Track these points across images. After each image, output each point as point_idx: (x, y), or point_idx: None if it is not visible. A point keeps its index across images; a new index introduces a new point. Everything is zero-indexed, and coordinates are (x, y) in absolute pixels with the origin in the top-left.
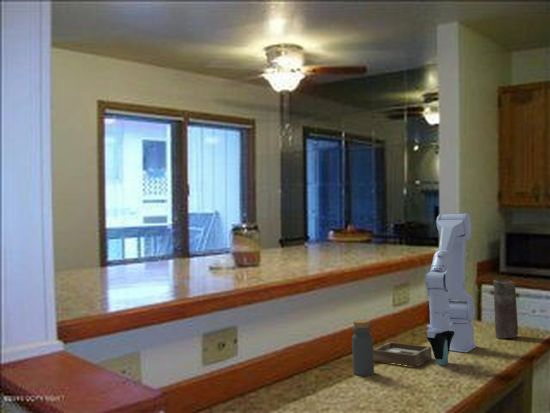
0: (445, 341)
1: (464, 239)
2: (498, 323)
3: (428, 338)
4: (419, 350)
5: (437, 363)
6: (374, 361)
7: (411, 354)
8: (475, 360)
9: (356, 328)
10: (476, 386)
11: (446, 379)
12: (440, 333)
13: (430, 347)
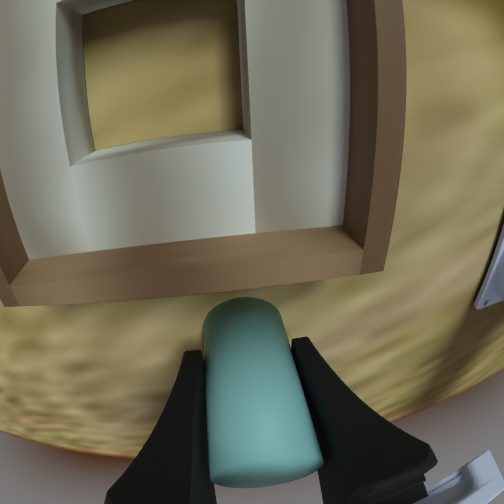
0: (250, 486)
1: None
2: None
3: (114, 495)
4: (352, 138)
5: (204, 327)
6: None
7: (246, 84)
8: (370, 379)
9: None
10: (91, 448)
11: (59, 404)
12: (344, 497)
13: (368, 272)
